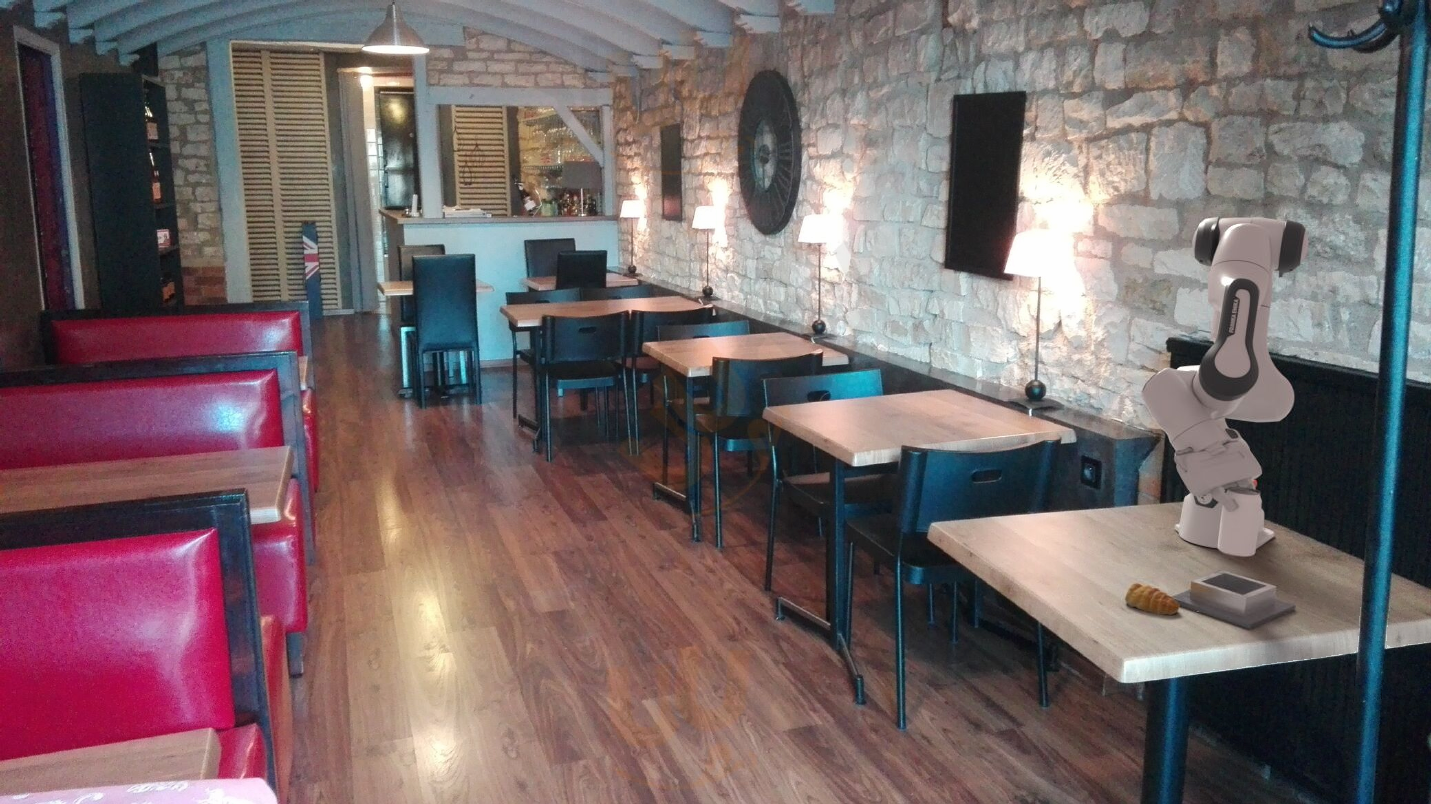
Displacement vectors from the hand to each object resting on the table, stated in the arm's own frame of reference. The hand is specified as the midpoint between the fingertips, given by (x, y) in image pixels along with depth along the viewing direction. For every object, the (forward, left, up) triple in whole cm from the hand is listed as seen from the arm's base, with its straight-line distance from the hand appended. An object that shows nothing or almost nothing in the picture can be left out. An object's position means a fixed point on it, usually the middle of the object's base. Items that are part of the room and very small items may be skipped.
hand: (1245, 506), depth 208 cm
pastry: (+13, -10, -20) cm, 26 cm away
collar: (0, -1, -20) cm, 20 cm away
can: (0, -1, -9) cm, 9 cm away
